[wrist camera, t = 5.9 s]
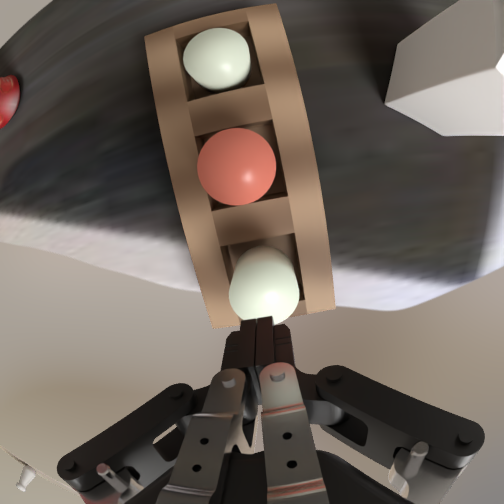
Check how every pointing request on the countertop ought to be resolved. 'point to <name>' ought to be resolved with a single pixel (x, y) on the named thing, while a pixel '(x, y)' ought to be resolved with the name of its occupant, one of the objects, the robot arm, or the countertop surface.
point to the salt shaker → (26, 477)
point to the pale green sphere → (218, 60)
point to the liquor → (8, 98)
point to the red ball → (236, 166)
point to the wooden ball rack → (277, 136)
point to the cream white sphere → (264, 285)
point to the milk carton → (453, 71)
